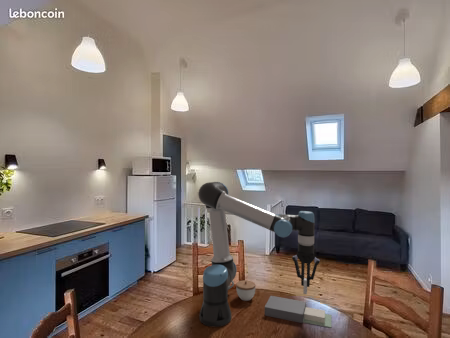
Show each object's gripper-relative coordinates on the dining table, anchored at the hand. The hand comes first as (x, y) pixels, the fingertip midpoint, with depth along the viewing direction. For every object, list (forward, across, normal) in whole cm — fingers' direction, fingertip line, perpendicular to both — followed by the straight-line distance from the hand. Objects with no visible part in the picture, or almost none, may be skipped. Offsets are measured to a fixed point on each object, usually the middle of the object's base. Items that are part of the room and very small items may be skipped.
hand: (305, 292), depth 126 cm
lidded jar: (+12, +32, -7) cm, 35 cm away
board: (+12, +9, 0) cm, 15 cm away
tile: (+11, -4, 0) cm, 12 cm away
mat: (+11, -6, 0) cm, 13 cm away
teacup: (+13, +47, -10) cm, 50 cm away
